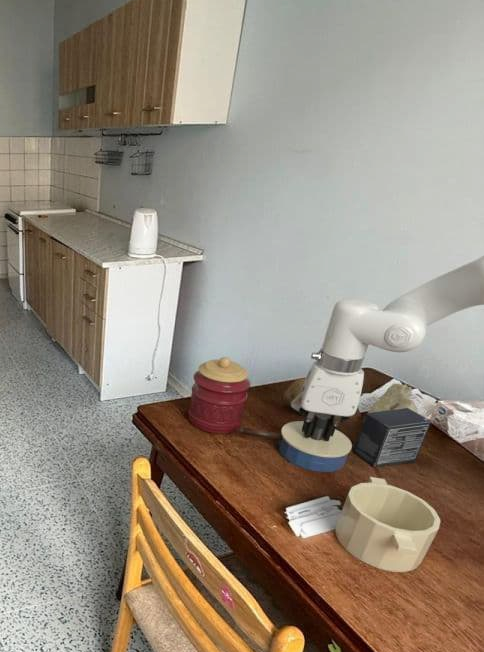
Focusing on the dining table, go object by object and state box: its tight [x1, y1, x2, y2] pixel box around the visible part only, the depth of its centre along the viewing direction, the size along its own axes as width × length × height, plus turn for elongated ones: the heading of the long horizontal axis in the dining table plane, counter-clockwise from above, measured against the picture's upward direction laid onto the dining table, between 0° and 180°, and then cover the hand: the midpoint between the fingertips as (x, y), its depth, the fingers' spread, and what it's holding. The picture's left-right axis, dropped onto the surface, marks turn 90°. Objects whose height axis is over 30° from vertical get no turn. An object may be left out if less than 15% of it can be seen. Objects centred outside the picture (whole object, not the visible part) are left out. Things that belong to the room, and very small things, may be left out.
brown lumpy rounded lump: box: [284, 377, 306, 414], centre depth 120 cm, size 9×9×10 cm
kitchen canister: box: [187, 356, 251, 435], centre depth 116 cm, size 13×13×18 cm
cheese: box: [363, 382, 419, 421], centre depth 115 cm, size 15×7×15 cm
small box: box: [352, 408, 433, 468], centre depth 103 cm, size 11×6×10 cm, turn 100°
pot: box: [334, 476, 442, 573], centre depth 81 cm, size 13×18×8 cm
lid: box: [280, 413, 353, 458], centre depth 103 cm, size 14×14×7 cm
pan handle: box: [237, 426, 282, 441], centre depth 109 cm, size 10×2×2 cm, turn 70°
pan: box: [277, 437, 350, 473], centre depth 106 cm, size 13×13×4 cm
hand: (316, 435), depth 104 cm, fingers open, 3 cm apart
